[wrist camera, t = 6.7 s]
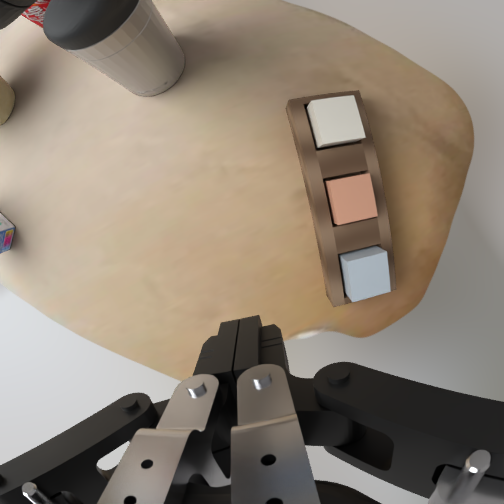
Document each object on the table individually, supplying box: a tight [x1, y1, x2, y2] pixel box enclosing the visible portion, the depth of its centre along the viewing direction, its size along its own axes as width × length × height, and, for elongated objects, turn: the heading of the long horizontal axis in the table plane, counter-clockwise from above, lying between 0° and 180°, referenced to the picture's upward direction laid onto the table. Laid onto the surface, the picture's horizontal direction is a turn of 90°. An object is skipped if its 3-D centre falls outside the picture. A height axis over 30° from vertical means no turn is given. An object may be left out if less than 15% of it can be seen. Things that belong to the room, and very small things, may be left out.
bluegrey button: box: [339, 246, 391, 302], centre depth 34 cm, size 5×5×4 cm
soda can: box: [21, 0, 51, 28], centre depth 24 cm, size 7×7×12 cm
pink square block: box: [323, 173, 378, 225], centre depth 33 cm, size 5×5×4 cm
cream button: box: [306, 95, 366, 148], centre depth 30 cm, size 5×5×4 cm
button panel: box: [286, 90, 396, 307], centre depth 34 cm, size 25×9×4 cm, turn 14°
